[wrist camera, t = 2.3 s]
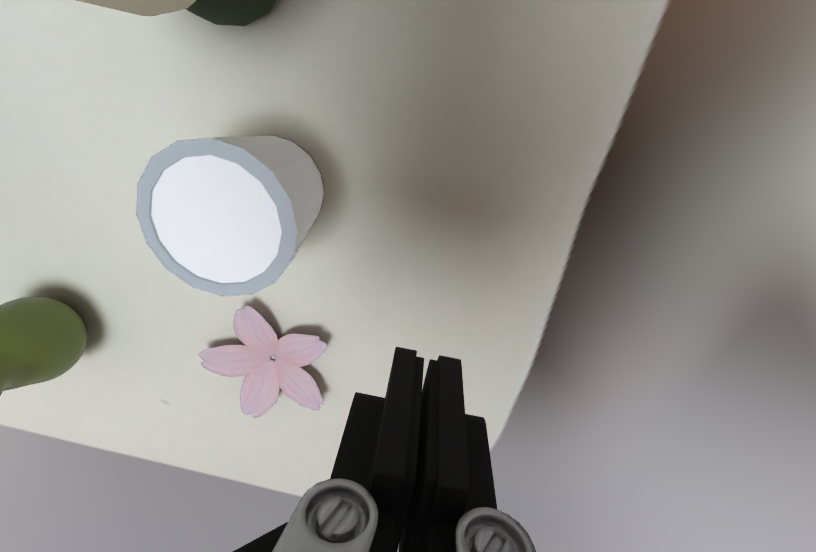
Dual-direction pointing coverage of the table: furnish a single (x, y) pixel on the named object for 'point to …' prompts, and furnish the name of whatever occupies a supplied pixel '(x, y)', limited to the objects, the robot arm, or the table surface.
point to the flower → (267, 364)
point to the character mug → (195, 8)
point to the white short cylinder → (228, 210)
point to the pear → (38, 341)
